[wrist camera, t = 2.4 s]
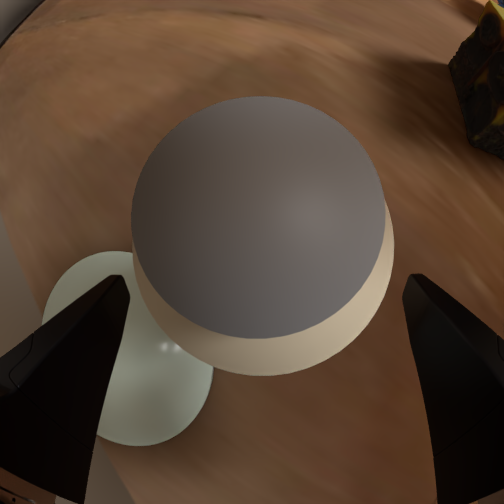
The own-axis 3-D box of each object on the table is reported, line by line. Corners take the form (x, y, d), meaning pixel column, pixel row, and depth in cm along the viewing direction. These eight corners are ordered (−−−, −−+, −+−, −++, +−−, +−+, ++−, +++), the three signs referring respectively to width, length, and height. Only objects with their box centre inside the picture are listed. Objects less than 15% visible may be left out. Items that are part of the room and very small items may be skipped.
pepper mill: (318, 325, 17) (455, 375, 3) (225, 332, 17) (86, 398, 4) (310, 233, 18) (390, 61, 4) (220, 240, 18) (103, 87, 5)
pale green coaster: (222, 448, 16) (220, 454, 15) (60, 425, 17) (54, 427, 16) (208, 245, 18) (205, 242, 18) (46, 259, 19) (40, 258, 18)
